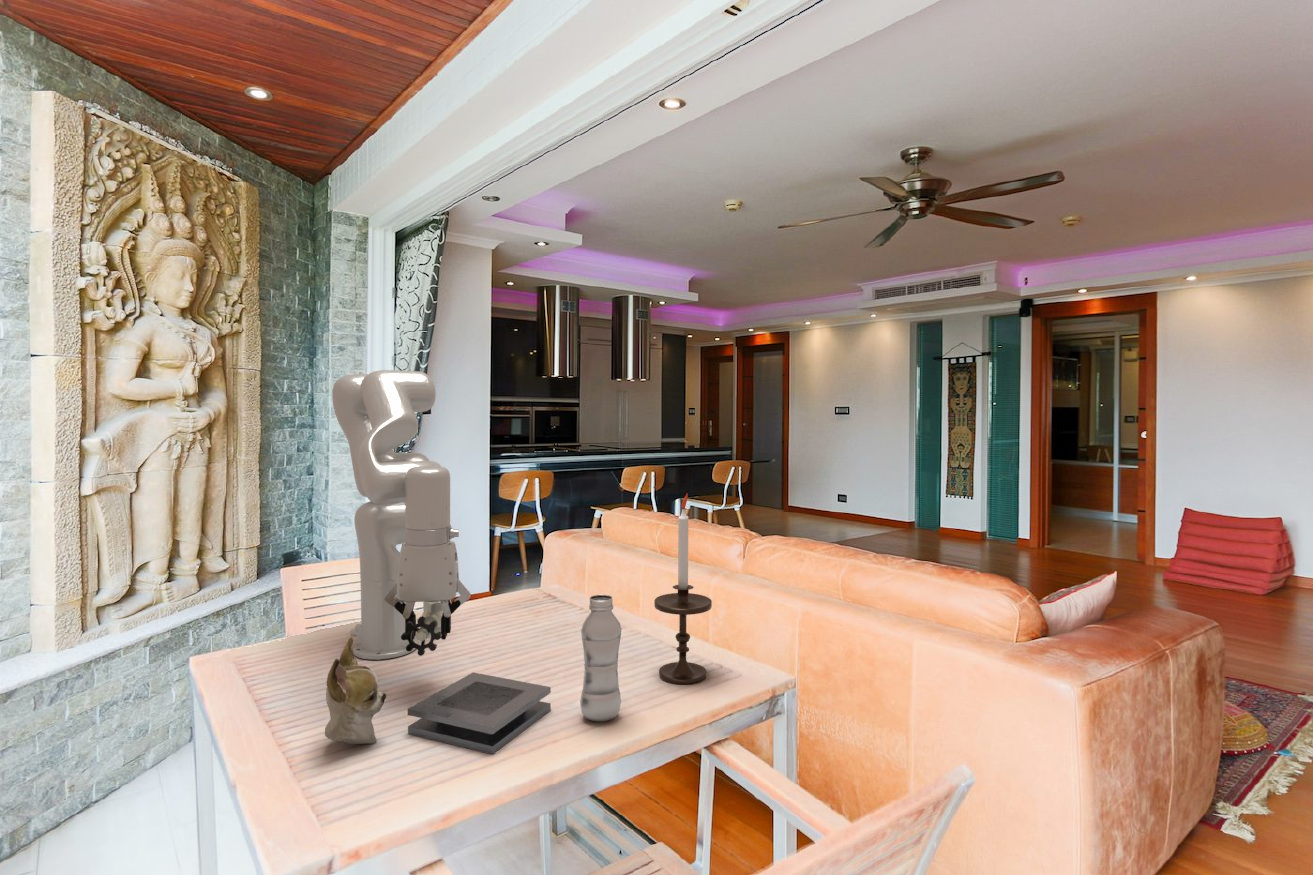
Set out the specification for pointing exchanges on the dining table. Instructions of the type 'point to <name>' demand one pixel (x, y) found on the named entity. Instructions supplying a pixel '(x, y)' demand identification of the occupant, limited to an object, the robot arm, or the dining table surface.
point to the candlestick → (682, 613)
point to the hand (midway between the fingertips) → (428, 636)
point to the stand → (479, 712)
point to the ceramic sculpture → (352, 700)
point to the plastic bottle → (601, 661)
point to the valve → (425, 628)
